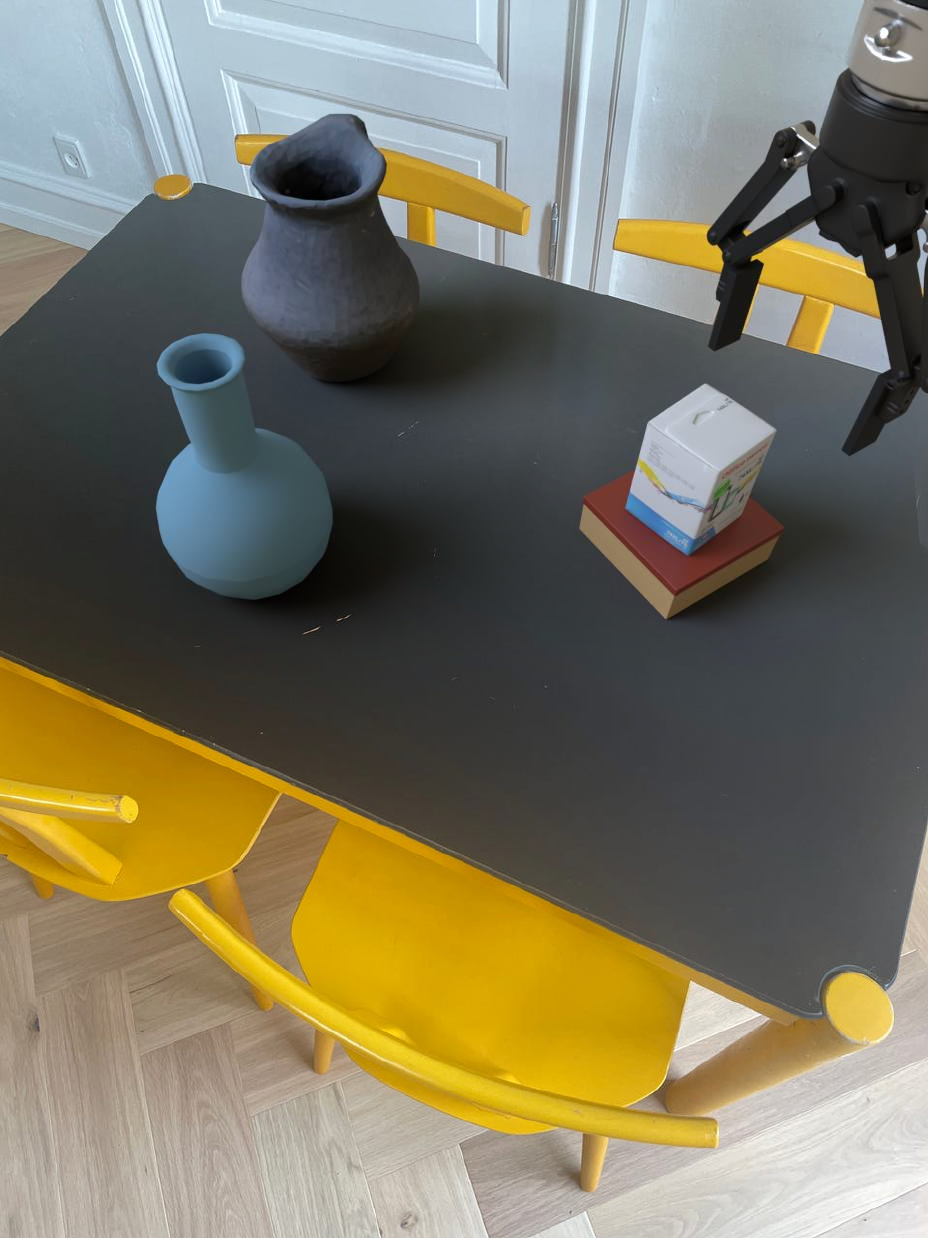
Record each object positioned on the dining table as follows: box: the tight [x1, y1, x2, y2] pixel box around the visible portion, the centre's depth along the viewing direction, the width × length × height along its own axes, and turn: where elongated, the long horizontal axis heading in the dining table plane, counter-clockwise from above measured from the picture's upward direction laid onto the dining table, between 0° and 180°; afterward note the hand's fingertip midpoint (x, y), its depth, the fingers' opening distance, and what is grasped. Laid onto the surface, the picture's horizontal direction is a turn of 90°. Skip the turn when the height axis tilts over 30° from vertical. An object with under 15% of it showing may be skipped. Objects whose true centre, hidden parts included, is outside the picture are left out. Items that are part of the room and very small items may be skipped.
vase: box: [155, 332, 334, 601], centre depth 78 cm, size 16×16×25 cm
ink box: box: [626, 383, 778, 556], centre depth 81 cm, size 8×8×12 cm
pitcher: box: [240, 113, 421, 383], centre depth 97 cm, size 21×22×25 cm
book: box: [579, 469, 786, 620], centre depth 88 cm, size 14×14×5 cm
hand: (787, 392), depth 64 cm, fingers open, 13 cm apart
